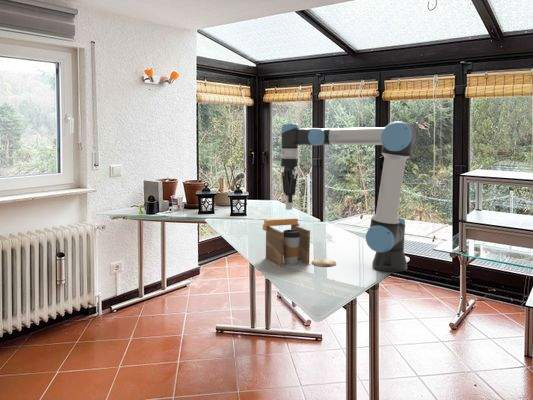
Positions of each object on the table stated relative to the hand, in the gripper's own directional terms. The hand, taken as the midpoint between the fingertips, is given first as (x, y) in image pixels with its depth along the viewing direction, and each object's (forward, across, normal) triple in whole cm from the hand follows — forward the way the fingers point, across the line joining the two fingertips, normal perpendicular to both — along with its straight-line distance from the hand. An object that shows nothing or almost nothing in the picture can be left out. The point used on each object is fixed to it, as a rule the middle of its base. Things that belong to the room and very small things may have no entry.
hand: (288, 209), depth 232 cm
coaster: (+25, +9, +14) cm, 30 cm away
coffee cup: (+25, +3, 0) cm, 25 cm away
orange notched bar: (+11, -8, 0) cm, 13 cm away
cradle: (+25, -1, 0) cm, 25 cm away
